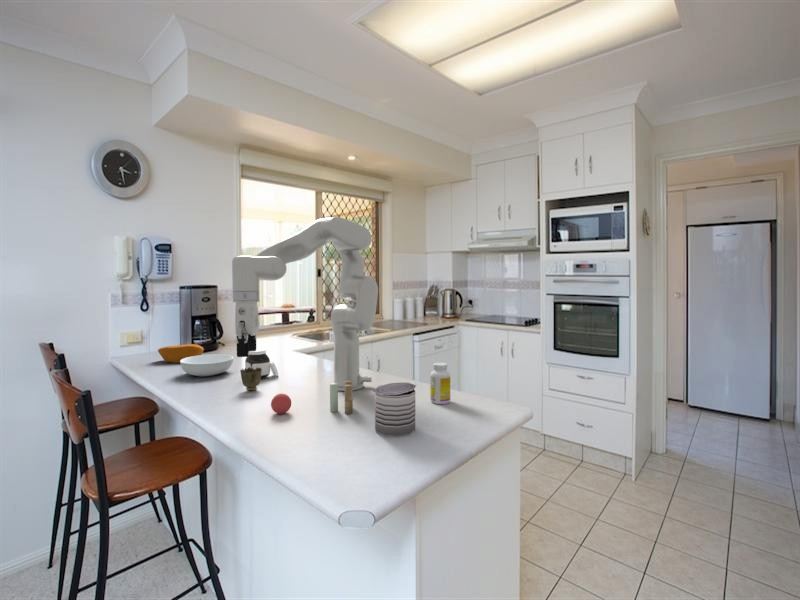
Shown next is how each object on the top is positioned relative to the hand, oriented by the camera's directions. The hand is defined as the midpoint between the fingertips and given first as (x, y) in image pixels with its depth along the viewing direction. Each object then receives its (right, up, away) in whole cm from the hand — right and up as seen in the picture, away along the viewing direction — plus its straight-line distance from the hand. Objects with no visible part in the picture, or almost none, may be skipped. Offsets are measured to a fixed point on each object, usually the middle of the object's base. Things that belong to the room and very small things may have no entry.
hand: (247, 353), depth 124 cm
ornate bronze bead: (-9, -17, +28) cm, 34 cm away
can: (+45, -20, -12) cm, 50 cm away
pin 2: (+30, -18, +7) cm, 36 cm away
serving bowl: (-37, -16, +54) cm, 68 cm away
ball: (+10, -16, +2) cm, 19 cm away
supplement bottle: (+60, -18, +13) cm, 64 cm away
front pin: (+26, -18, +4) cm, 32 cm away
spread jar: (-11, -16, +48) cm, 52 cm away
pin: (+31, -19, +2) cm, 36 cm away
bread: (-64, -15, +83) cm, 106 cm away
